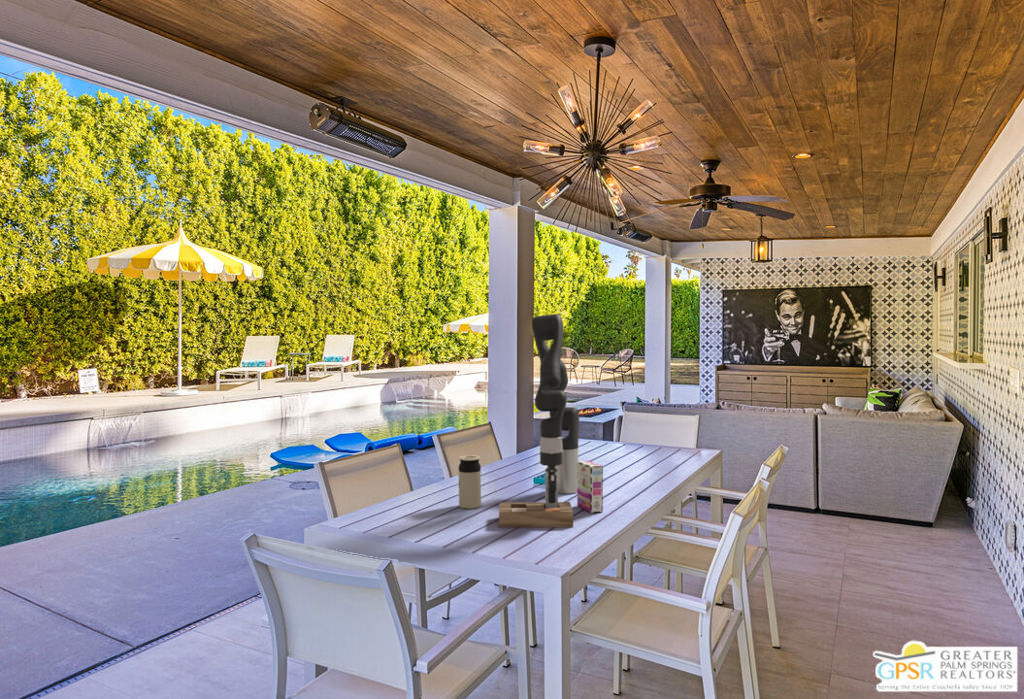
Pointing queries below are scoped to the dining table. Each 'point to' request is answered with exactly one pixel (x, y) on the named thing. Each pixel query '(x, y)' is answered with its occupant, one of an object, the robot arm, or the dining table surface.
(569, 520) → the socket block
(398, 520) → the dining table surface
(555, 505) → the plug
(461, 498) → the travel mug
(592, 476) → the candy bar box
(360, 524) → the dining table surface
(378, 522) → the dining table surface
